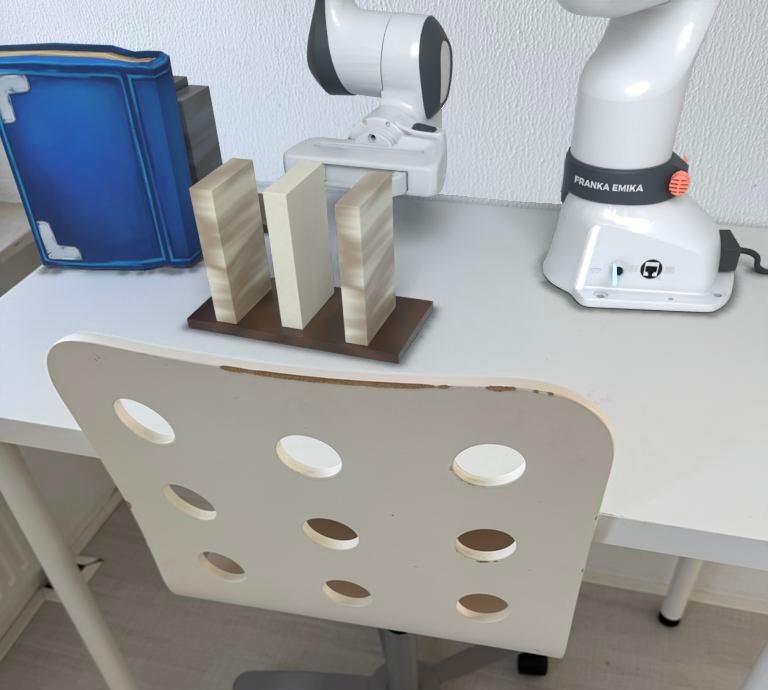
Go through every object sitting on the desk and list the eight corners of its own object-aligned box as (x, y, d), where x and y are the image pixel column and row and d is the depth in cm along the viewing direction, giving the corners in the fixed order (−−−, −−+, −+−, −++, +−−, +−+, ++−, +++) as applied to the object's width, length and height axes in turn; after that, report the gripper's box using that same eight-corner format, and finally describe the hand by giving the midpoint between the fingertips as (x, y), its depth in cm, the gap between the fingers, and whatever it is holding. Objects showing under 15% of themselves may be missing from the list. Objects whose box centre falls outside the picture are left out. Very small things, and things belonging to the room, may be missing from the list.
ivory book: (334, 292, 92) (322, 162, 81) (302, 330, 86) (285, 194, 75) (314, 289, 92) (300, 160, 82) (281, 326, 86) (262, 191, 76)
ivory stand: (433, 310, 90) (434, 167, 79) (398, 363, 82) (394, 213, 71) (238, 281, 97) (213, 146, 86) (188, 327, 89) (154, 186, 78)
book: (215, 249, 104) (173, 38, 87) (201, 274, 99) (153, 54, 82) (63, 248, 106) (-7, 42, 89) (41, 272, 101) (-37, 58, 84)
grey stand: (300, 205, 114) (285, 76, 102) (270, 233, 107) (250, 99, 96) (201, 194, 119) (176, 70, 107) (166, 220, 112) (135, 90, 100)
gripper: (306, 118, 99) (257, 155, 90) (458, 130, 94) (422, 170, 85) (311, 168, 104) (265, 208, 95) (456, 182, 98) (422, 226, 89)
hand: (340, 190), depth 89 cm, fingers open, 8 cm apart
